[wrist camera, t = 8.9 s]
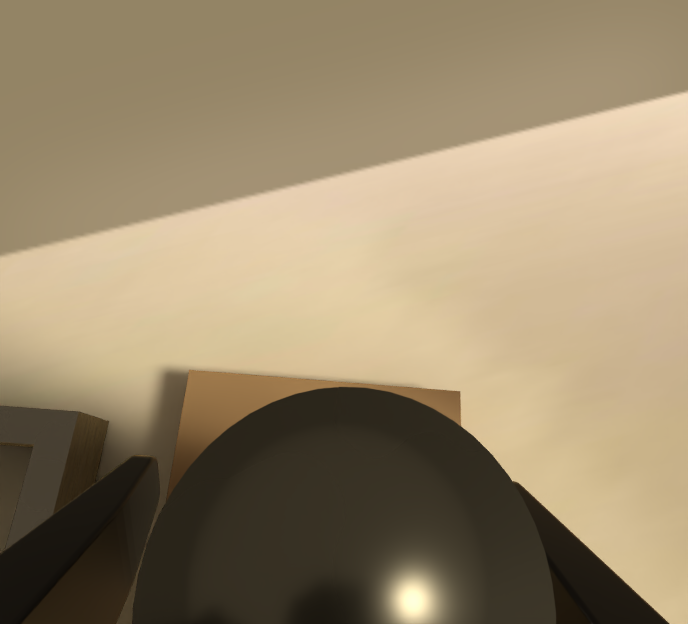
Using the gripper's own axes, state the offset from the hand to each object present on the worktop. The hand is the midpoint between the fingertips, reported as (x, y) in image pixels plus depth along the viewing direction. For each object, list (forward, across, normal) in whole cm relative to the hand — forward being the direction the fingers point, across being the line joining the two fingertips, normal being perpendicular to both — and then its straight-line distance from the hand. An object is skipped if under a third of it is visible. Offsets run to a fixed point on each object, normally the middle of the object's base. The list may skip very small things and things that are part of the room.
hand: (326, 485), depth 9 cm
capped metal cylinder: (+4, 0, +6) cm, 8 cm away
